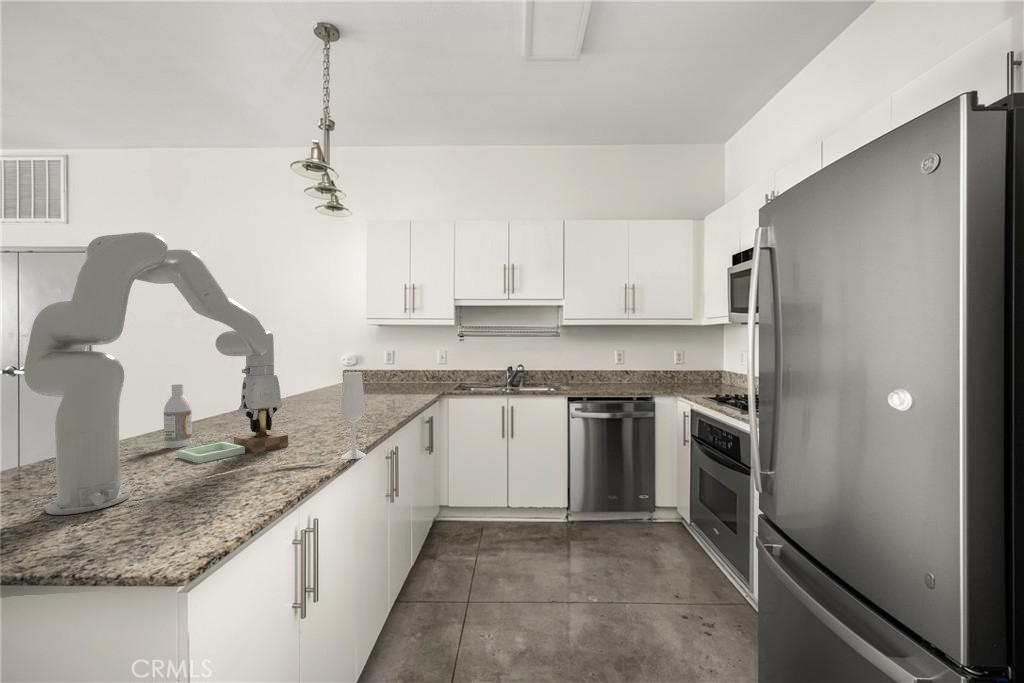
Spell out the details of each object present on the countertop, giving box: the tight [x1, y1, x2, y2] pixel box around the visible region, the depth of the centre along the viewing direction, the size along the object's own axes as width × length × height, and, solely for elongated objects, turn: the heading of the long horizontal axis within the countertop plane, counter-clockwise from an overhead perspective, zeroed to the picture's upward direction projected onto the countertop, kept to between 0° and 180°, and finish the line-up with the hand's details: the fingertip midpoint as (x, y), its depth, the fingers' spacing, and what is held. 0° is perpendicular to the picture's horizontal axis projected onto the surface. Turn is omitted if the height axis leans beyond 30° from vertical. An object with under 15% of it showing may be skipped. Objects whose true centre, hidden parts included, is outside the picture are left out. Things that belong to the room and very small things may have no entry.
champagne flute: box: [340, 371, 367, 460], centre depth 127 cm, size 7×7×24 cm
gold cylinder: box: [255, 408, 268, 438], centre depth 136 cm, size 3×3×12 cm
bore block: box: [233, 430, 289, 454], centre depth 136 cm, size 12×10×4 cm
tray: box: [177, 441, 246, 464], centre depth 127 cm, size 12×12×2 cm
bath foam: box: [163, 383, 193, 449], centre depth 139 cm, size 7×7×20 cm
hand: (261, 430), depth 136 cm, fingers closed on gold cylinder, 3 cm apart
